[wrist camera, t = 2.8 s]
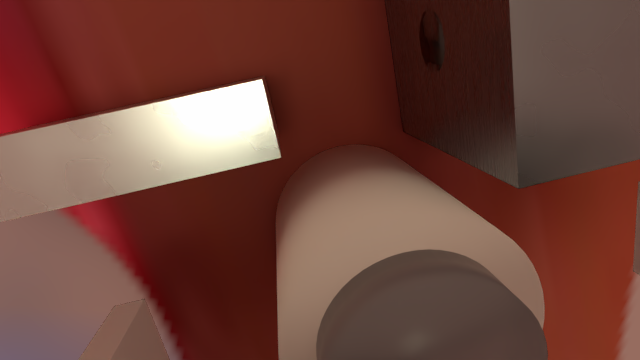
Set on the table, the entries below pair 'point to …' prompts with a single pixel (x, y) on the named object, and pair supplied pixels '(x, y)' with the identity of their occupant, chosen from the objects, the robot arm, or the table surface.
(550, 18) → the motor bracket
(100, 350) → the robot arm
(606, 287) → the table surface
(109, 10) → the table surface
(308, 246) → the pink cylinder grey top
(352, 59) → the table surface
